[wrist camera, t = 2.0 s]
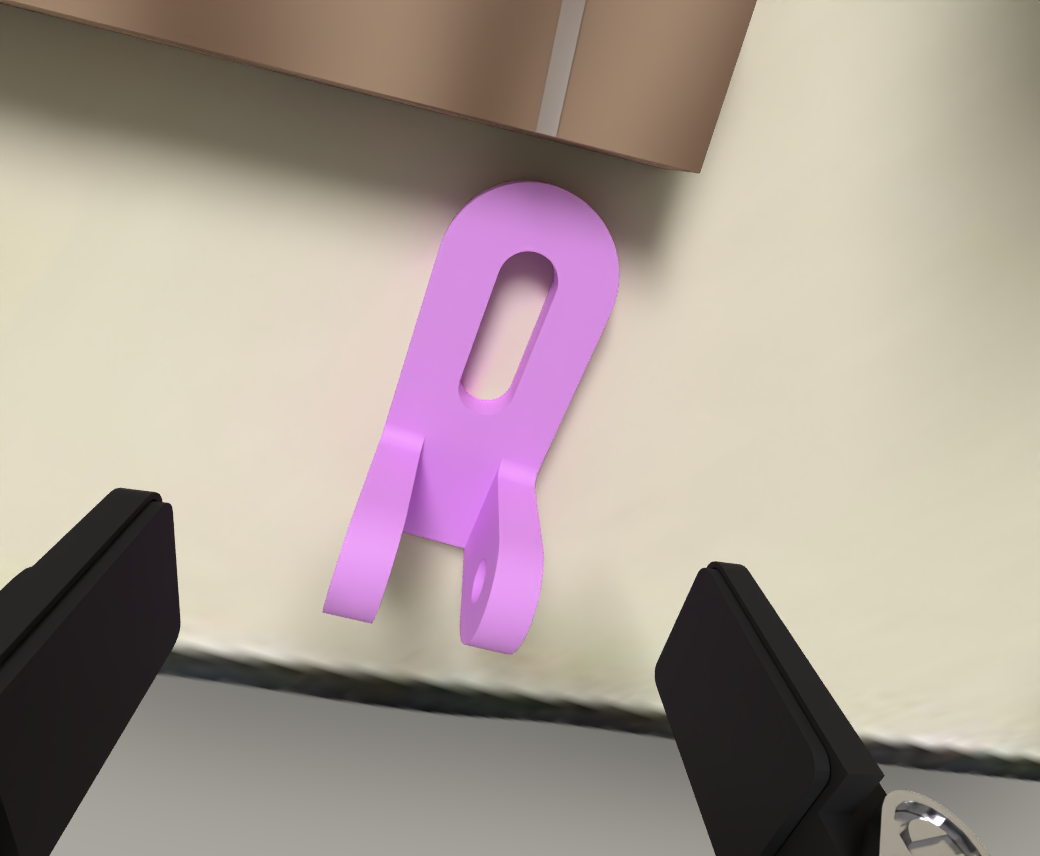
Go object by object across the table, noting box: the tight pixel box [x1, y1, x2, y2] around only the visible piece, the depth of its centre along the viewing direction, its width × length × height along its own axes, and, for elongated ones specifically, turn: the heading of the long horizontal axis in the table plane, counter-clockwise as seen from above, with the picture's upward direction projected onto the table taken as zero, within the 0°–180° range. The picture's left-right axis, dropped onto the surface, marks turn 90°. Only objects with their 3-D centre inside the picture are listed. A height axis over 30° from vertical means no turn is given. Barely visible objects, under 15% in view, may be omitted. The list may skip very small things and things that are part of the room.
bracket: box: [323, 180, 619, 654], centre depth 16 cm, size 13×6×7 cm, turn 159°
